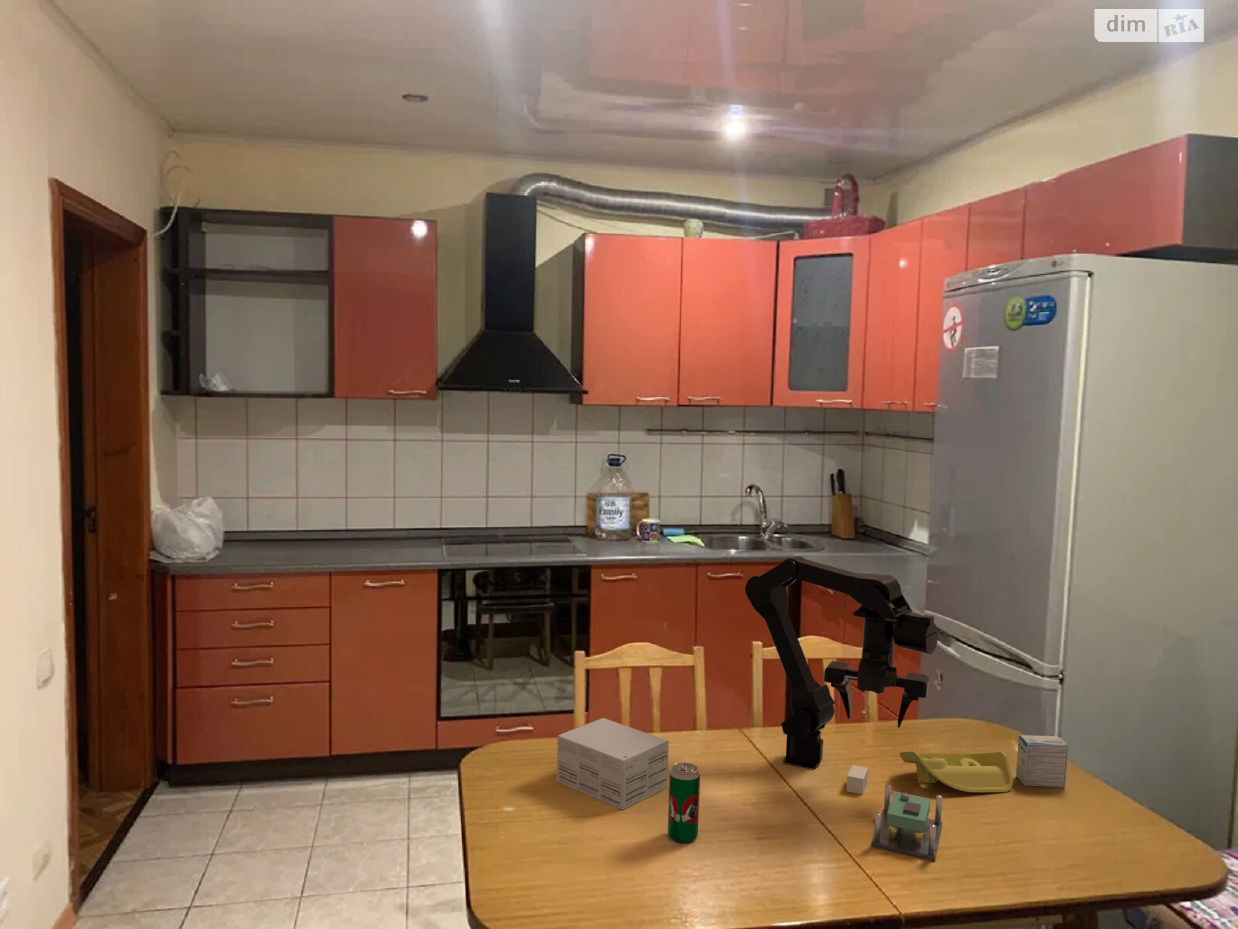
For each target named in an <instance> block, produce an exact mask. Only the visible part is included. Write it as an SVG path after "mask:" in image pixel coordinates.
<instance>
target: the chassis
mask: <svg viewBox="0 0 1238 929" xmlns="http://www.w3.org/2000/svg"><path fill="white" fill-rule="evenodd" d="M884 786H885V787H884V799H883V800H884V801H883V802H884V803H883V809H882V812H879V811H876V812H874V826H873V827H874V829H873V837H872V839H871V847H872V848H876V849H881V850H886V851H889V852H894V853H899V854H903V855H907V856H912V857H915V858H921V859H924V860H927V861H928V860H929V861H932V862H933V861H934V862H936V859H937V854H938V847H939V844H940V839H941V834H942V828H943V821H942V810H943V795H940V794H937V795H936V798H935V812H934V813H935V814H934V819H932V818H929V817H928V820H927V824H926V829H925V833H922V832H918V831H913V830H909V829H904V828H899V827H895V826H890V825H887V813H888V810H889V807H890V803H891V798H892V797H891V794H892V785H890V784H885V785H884Z"/></svg>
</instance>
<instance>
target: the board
mask: <svg viewBox="0 0 1238 929" xmlns="http://www.w3.org/2000/svg"><path fill="white" fill-rule="evenodd" d="M930 810H931V798H929V797H924V796H919V795H915V794H910V793H906V792H899V791H893V795H892V797H891V799H890V807H889V810H888V813H887V825H890V826H895V827H899V828H904V829H909V830H913V831H918V832H922V833H925V829H926V824H927V820H928V818H929V815H930Z"/></svg>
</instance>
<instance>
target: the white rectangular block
mask: <svg viewBox="0 0 1238 929" xmlns="http://www.w3.org/2000/svg"><path fill="white" fill-rule="evenodd" d="M868 776H869V767H864V766H860V765H854V764H852V765H851V766H850V769H849V771H848V773H847V776H846V790H845V791H846V792H848V793H849V792H850V793H853V794H859V795H864V792H865V790H866V788H867V785H868V778H869V777H868Z"/></svg>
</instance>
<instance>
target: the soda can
mask: <svg viewBox="0 0 1238 929" xmlns="http://www.w3.org/2000/svg"><path fill="white" fill-rule="evenodd" d="M668 781H669V784H668V787H669V788H668V811H667V812H668V814H667V816H668V817H667V836H668V837H669V838H670V839H671V840H672V841H674V842H675V843H678V844H679V843H680V844H690V843H693V842H694V841H695V840H696V839H697V838H698V836H699V820H700V819H699V817H700V816H699V815H700V792H701V791H700V786H701V774H700V771H699V768H698V766H697V765H696V764H693V763H691V762H678V763H675V764H673V765H672V767H671V770H670V771H669V777H668Z"/></svg>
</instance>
